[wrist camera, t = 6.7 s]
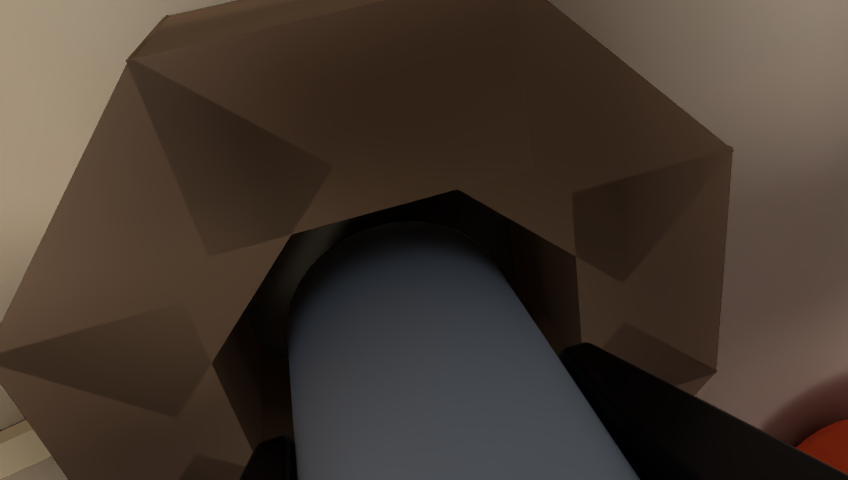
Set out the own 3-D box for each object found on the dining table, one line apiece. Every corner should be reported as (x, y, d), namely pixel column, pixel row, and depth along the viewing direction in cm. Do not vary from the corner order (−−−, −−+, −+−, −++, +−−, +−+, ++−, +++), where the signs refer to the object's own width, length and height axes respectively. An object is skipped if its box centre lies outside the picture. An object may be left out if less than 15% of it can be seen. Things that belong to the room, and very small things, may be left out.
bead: (620, -88, 10) (752, -87, 7) (629, 383, 15) (708, 482, 12) (-49, 63, 9) (-181, 129, 6) (207, 518, 14) (195, 661, 11)
